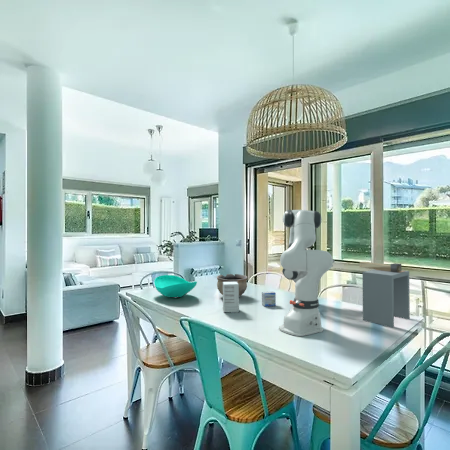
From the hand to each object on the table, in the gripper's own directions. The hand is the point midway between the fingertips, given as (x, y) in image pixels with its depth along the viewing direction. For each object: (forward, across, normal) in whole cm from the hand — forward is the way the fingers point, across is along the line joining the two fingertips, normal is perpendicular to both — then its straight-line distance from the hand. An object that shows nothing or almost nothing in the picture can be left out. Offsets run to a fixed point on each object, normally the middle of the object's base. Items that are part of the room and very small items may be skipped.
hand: (329, 261), depth 186 cm
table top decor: (-90, -60, -19) cm, 110 cm away
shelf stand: (+13, +4, +41) cm, 43 cm away
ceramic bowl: (-68, -28, -6) cm, 73 cm away
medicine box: (-39, -24, +11) cm, 48 cm away
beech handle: (+22, +8, +16) cm, 28 cm away
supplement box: (-45, -50, +8) cm, 68 cm away
